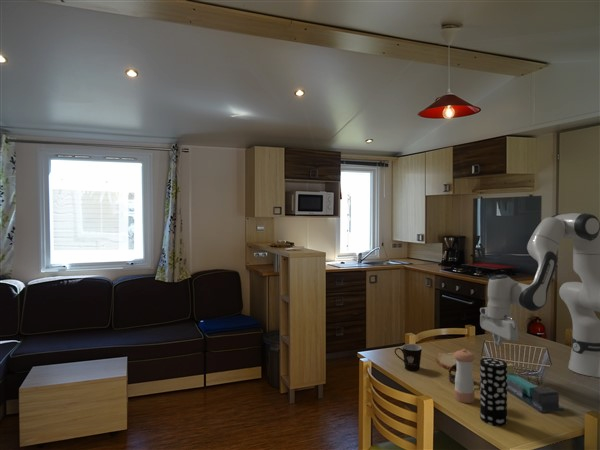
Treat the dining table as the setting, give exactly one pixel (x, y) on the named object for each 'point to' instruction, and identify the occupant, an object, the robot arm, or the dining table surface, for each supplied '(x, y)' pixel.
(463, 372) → the pepper shaker
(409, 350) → the coffee mug
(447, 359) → the bread slice
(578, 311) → the robot arm
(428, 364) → the dining table surface
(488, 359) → the white-spotted black cylinder
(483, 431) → the dining table surface
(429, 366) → the dining table surface
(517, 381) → the teal yellow slider block
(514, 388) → the guide
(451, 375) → the pottery mug
